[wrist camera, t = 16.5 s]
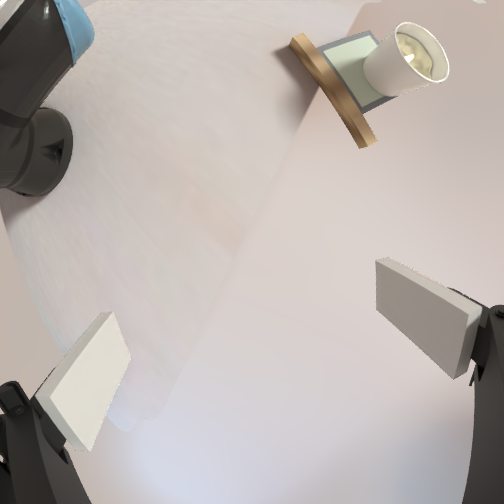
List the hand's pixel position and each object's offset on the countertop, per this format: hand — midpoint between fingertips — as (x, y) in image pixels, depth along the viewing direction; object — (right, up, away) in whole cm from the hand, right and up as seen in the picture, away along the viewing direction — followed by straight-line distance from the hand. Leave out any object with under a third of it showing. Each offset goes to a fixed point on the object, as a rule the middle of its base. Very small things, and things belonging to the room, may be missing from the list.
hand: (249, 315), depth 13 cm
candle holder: (+22, +32, +23) cm, 45 cm away
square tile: (+19, +33, +23) cm, 44 cm away
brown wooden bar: (+12, +27, +24) cm, 38 cm away
